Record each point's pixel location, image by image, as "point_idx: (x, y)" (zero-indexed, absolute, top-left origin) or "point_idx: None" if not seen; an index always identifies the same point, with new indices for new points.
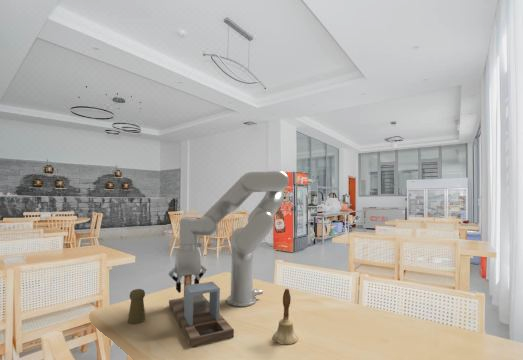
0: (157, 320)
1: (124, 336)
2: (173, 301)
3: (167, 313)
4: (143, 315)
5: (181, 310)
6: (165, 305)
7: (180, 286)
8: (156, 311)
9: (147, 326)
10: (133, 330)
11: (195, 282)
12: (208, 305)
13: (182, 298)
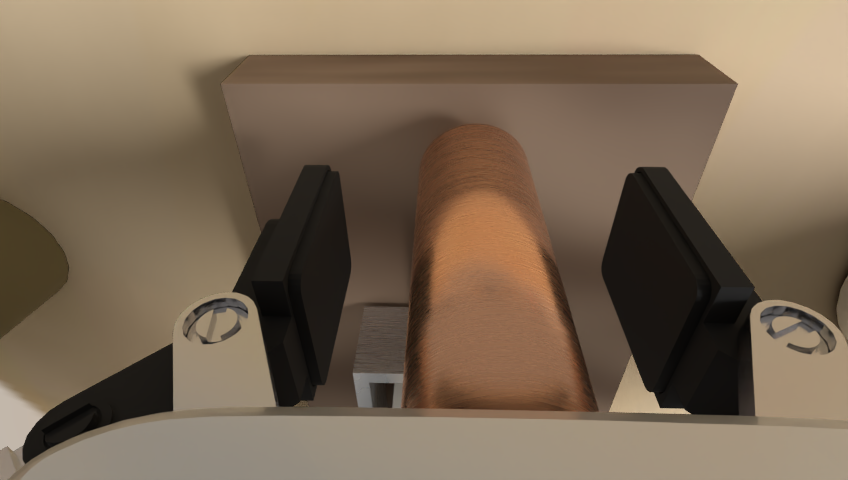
0: (174, 304)
1: (19, 392)
2: (282, 161)
3: (243, 226)
4: (29, 313)
5: (347, 368)
6: (201, 5)
7: (329, 337)
8: (122, 142)
9: (121, 349)
10: (43, 359)
11: (649, 323)
12: (593, 371)
13: (355, 377)
